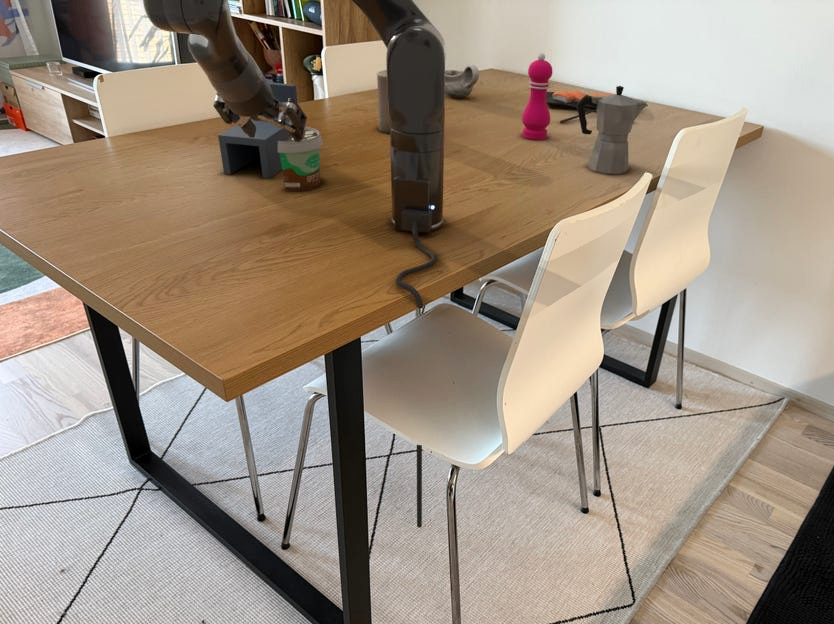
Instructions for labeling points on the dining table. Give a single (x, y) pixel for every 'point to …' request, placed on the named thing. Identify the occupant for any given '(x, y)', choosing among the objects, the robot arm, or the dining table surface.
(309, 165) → the food container
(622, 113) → the coffeepot
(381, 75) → the pillar candle
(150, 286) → the dining table surface
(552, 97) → the sushi plate
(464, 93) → the grey curved hollow piece
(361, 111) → the dining table surface
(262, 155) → the blue toy chair
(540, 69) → the pepper mill
